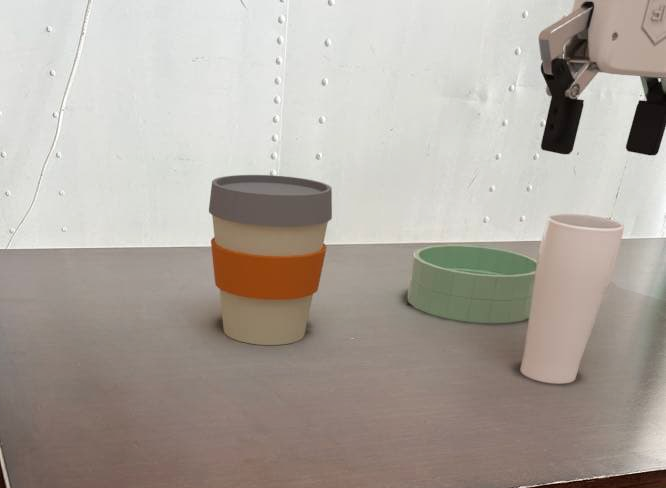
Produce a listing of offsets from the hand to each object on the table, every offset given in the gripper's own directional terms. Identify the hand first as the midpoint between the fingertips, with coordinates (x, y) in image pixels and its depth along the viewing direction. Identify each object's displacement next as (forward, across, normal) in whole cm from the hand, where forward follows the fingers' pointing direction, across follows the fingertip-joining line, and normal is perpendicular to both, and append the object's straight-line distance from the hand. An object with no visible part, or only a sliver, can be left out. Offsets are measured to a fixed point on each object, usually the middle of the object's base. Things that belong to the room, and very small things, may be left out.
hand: (599, 152), depth 70 cm
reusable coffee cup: (+21, -20, +21) cm, 36 cm away
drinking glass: (+21, +1, 0) cm, 21 cm away
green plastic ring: (+20, +8, +22) cm, 31 cm away
